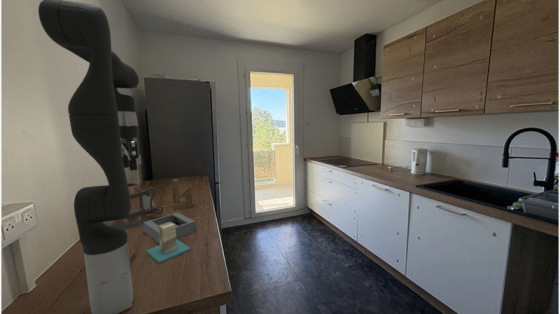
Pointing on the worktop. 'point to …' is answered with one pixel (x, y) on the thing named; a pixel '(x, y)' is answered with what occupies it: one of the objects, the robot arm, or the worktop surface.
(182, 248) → the mat
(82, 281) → the worktop surface
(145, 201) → the coffee pot
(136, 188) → the tankard
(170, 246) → the birch block
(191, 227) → the open gray rectangular frame
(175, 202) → the wooden block
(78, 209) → the robot arm
